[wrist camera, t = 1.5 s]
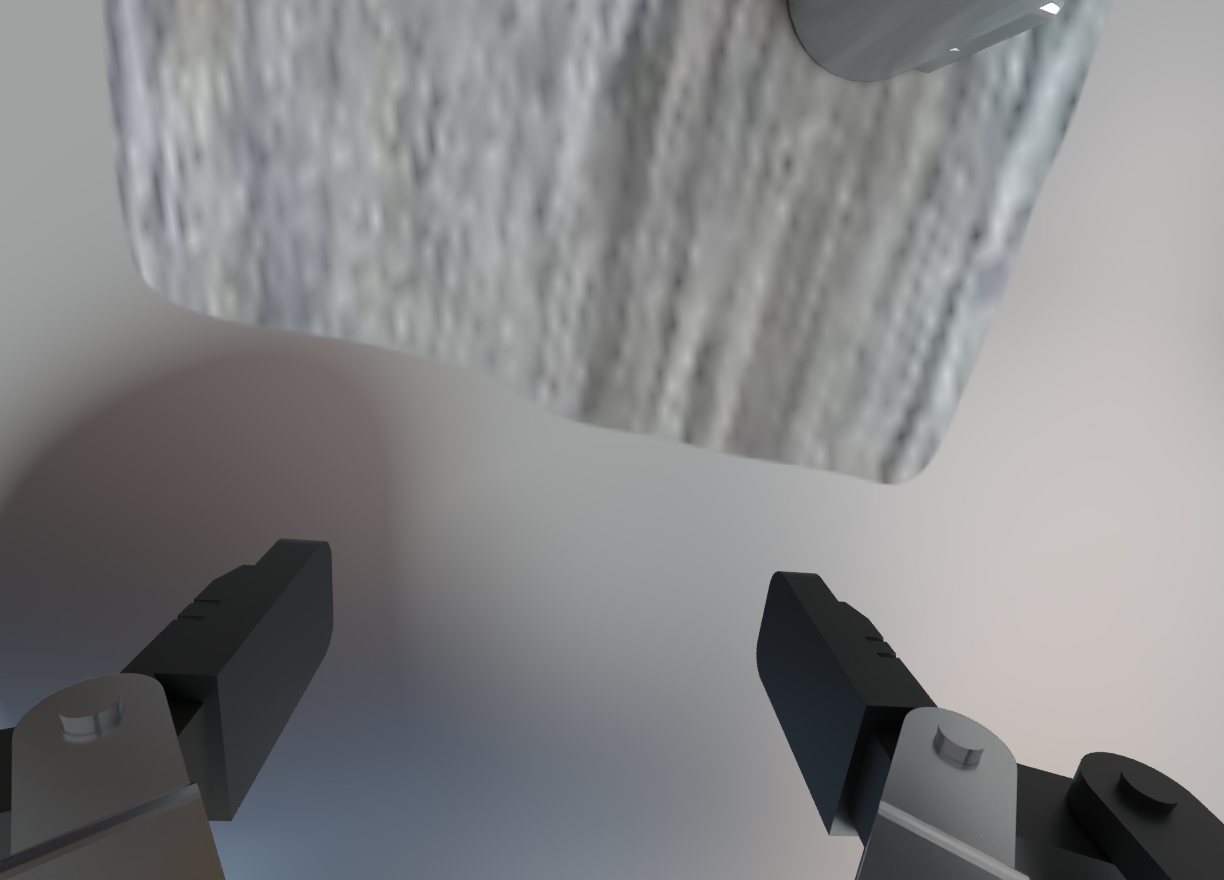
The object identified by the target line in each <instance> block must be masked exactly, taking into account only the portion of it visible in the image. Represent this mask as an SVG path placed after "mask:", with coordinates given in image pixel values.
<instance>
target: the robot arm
mask: <svg viewBox="0 0 1224 880" xmlns="http://www.w3.org/2000/svg"><path fill="white" fill-rule="evenodd" d="M788 1H789V8H790V14H791V19H792V21H793V24H794V27H795V30H796V33H797V36H798V37H799V39H800V41H801V42H802V44H803V46H804V47H805V49H806V51H807V52H808V53H809V55H810V56H811V57H812V58H813V59H814V60H815V61H816V62H817V63H818V64H819V65H820V66H821V67H823V68H825V69H826V70H828V71H829V72H831V73H833V74H834V75H836V76H839V77H842V78H845V79H848V80H851V81H864V82H872V81H877V80H883V79H888V78H890V77H893V76H895V75H897V74H900V73H902V72H905V71H908V70H911V69H915V70H920V71H923V72H926V73H930V72H932V71H934V70H937V69H939V68H941V67H944V66H946V65H948V64H951V63H953V62H955V61H957V60H960V59H962V58H964V57H967V56H969V55H971V54H974V53H976V52H978V51H981V50H983V49H985V48H987V47H990V46H992V45H994V44H997V43H999V42H1001V41H1004V40H1006V39H1008V38H1011V37H1013V36H1015V35H1017V34H1020V33H1022V32H1024V31H1027V30H1029V29H1031V28H1034V27H1036V26H1038V25H1041V24H1043V23H1045V22H1047V21H1049V20H1051V19H1052V18H1054V17H1055V16H1056V15H1057V14H1058V13H1059V11H1060V10H1061V8H1062V7H1063V5H1064V3H1065V0H788ZM332 630H333V586H332V555H331V548H330V545H329V543H328V542H326V541H314V540H297V539H280V540H278V541H277V542H276V543H275V544H274V546H272V547H271V548H270V549H269V551H268V552H267V553H266V554H265V555H264V556H263V557H262V558H261V559H260V560H259V561H258V562H257V564H255V566H253V565H242V566H240V567H238V568H236V569H234V570H232V571H230V572H228V573H227V574H225V575H223V576H221V577H219V578H217V579H215V580H213V581H212V582H211V583H210V584H209V586H207V587H206V588H205V589H204V590H203V591H202V592H201V593H200V594H199V595H198V596H197V597H196V598H195V599H194V603H192V604H191V603H190V604H189V605H188V606H187V607H186V608H185V609H184V610H183V611H182V612H181V613H180V614H179V615H178V618H177V620H173V621H172V622H171V623H170V624H169V625H168V626H167V627H166V628H165V629H164V630H163V631H162V632H161V633H160V634H159V635H158V636H157V637H156V638H155V639H154V640H153V641H152V642H151V643H150V644H149V645H148V646H147V647H146V648H144V649H143V651H141V653H139V655H137V656H136V657H135V658H134V659H133V660H132V661H131V662H130V663H129V664H128V665H127V666H126V667H125V668H124V669H123V670H122V671H121V672H120V673H119V674H110V675H104V676H99V677H95V678H91V679H87V680H84V681H81V682H78V683H75V684H73V685H70V686H68V687H65V688H63V689H61V690H59V691H57V692H55V693H53V694H51V695H49V696H48V697H46V698H45V699H43V700H41V701H40V702H39V703H37V704H36V705H35V706H33V707H32V708H31V709H30V710H29V711H27V713H25V714H24V715H23V717H22V718H21V719H20V720H19V722H18V723H17V725H16V727H13V728H8V729H2V730H0V880H225V877H224V873H223V870H222V866H221V863H220V859H219V856H218V853H217V849H216V845H215V842H214V839H213V835H212V832H211V828H210V825H209V821H232V819H233V817H234V815H235V814H236V812H237V810H238V808H239V807H240V805H241V803H242V801H243V800H244V798H245V796H246V794H247V793H248V791H249V789H250V787H251V785H252V784H253V782H254V780H255V778H256V777H257V775H258V773H259V771H260V770H261V768H262V766H263V764H264V762H265V761H266V759H267V757H268V756H269V754H270V752H271V750H272V748H273V747H274V745H275V743H276V741H277V740H278V738H279V736H280V734H281V733H282V731H283V729H284V727H285V726H286V724H287V722H288V720H289V719H290V717H291V715H292V713H293V712H294V709H295V708H296V706H297V705H298V703H299V701H300V699H301V697H302V696H303V694H304V692H305V690H306V689H307V687H308V685H309V683H310V682H311V680H312V678H313V676H314V675H315V673H316V671H317V669H318V668H319V666H320V664H321V662H322V660H323V659H324V657H325V655H326V653H327V650H328V647H329V644H330V640H331V636H332ZM756 654H757V667H758V672H759V676H760V678H761V681H762V683H763V685H764V687H765V690H766V692H767V694H768V697H769V699H770V701H771V704H772V706H773V708H774V710H775V713H776V715H777V717H778V719H779V722H780V724H781V727H782V729H783V731H784V733H785V736H786V738H787V740H788V742H789V745H790V747H791V750H792V752H793V754H794V756H795V758H796V761H797V763H798V766H799V768H800V770H801V772H802V774H803V777H804V779H805V782H806V784H807V786H808V789H809V790H810V793H811V795H812V798H813V800H814V802H815V805H816V807H817V809H818V811H819V814H820V816H821V818H822V821H823V823H824V825H825V827H826V830H827V832H828V834H829V836H859V837H860V839H861V841H862V843H863V845H864V851H863V854H862V857H861V860H860V863H859V867H858V870H857V873H856V877H855V880H1224V824H1223V823H1222V822H1221V821H1220V820H1219V819H1218V818H1217V817H1216V816H1215V815H1214V814H1213V813H1212V812H1210V811H1209V810H1208V809H1207V808H1206V807H1205V806H1204V805H1203V804H1202V803H1201V802H1200V801H1199V800H1198V799H1197V798H1195V797H1194V796H1193V795H1192V794H1191V793H1190V792H1189V791H1187V790H1186V789H1185V788H1184V787H1182V786H1181V785H1179V784H1178V783H1177V782H1175V781H1174V780H1172V779H1171V778H1169V777H1168V776H1166V775H1164V774H1163V773H1161V772H1159V771H1157V770H1155V769H1154V768H1152V767H1149V766H1147V765H1145V764H1143V763H1141V762H1138V761H1136V760H1134V759H1130V758H1127V757H1125V756H1121V755H1117V754H1113V753H1106V752H1095V753H1089V754H1087V755H1085V756H1084V757H1083V758H1082V759H1081V762H1080V764H1079V766H1078V769H1077V771H1076V773H1075V776H1074V778H1073V779H1072V778H1068V777H1065V776H1061V775H1057V774H1053V773H1050V772H1046V771H1043V770H1039V769H1035V768H1032V767H1028V766H1025V765H1021V764H1018V763H1016V761H1015V758H1014V756H1013V755H1012V753H1011V751H1010V750H1009V749H1008V747H1007V746H1006V745H1005V744H1004V743H1003V742H1002V741H1001V740H1000V739H999V738H998V737H997V736H996V735H995V734H994V733H992V732H991V731H990V730H988V729H987V728H985V727H984V726H983V725H981V724H979V723H978V722H976V721H974V720H972V719H970V718H968V717H966V716H964V715H961V714H959V713H956V712H953V711H950V710H946V709H942V708H938V707H937V706H936V704H935V703H934V702H933V701H932V699H931V698H930V697H929V695H928V694H927V693H926V692H925V690H924V689H923V688H922V686H921V685H920V684H919V683H918V681H917V680H916V679H915V677H914V676H913V675H912V674H911V672H910V671H909V670H908V669H907V667H906V666H905V665H904V664H903V662H902V661H901V660H900V659H899V658H896V653H895V652H894V651H893V649H892V648H891V647H890V646H889V644H888V643H887V642H884V641H883V637H882V635H881V634H880V633H879V632H878V630H877V629H876V628H875V626H874V625H873V624H872V623H871V622H870V620H869V619H868V618H866V617H865V616H864V615H862V614H861V613H860V612H858V611H857V610H856V609H854V608H853V607H851V606H850V605H848V604H847V603H846V602H839V601H838V600H837V599H836V598H835V596H834V595H833V594H832V593H831V591H830V589H829V588H828V587H827V585H826V584H825V583H824V582H823V580H822V579H821V577H820V576H819V575H817V574H814V573H798V572H783V571H777V572H775V573H774V574H773V576H772V579H771V581H770V585H769V590H768V594H767V599H766V604H765V608H764V614H763V618H762V622H761V627H760V632H759V637H758V642H757V652H756Z"/></svg>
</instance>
